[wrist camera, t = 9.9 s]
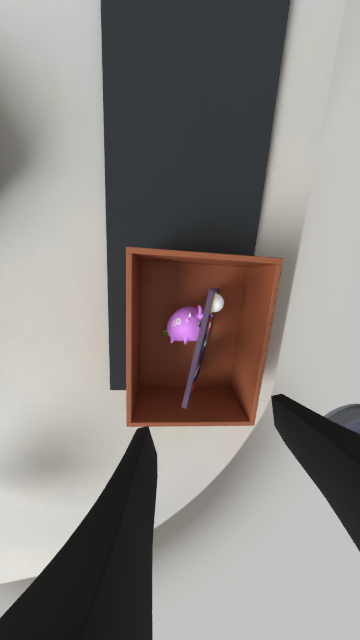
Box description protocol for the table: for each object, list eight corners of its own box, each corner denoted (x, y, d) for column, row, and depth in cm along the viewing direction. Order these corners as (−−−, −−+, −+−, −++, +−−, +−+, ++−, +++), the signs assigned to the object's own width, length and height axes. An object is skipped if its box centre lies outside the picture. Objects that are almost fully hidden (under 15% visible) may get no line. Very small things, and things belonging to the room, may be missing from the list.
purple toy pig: (195, 413, 14) (226, 291, 12) (131, 390, 15) (151, 275, 13) (206, 374, 20) (227, 291, 18) (161, 360, 21) (177, 280, 19)
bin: (138, 256, 18) (125, 246, 12) (247, 263, 19) (283, 258, 13) (137, 385, 21) (126, 427, 15) (230, 386, 22) (254, 425, 16)
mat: (93, -401, 10) (89, -435, 10) (330, -312, 11) (337, -338, 11) (111, 387, 21) (110, 390, 20) (233, 388, 22) (235, 391, 22)
